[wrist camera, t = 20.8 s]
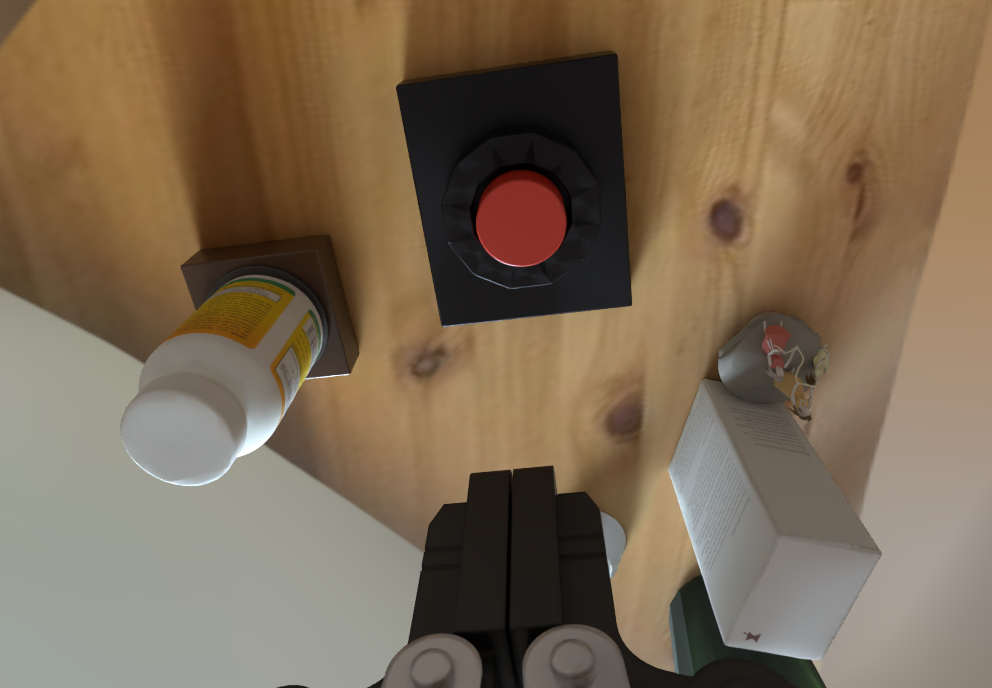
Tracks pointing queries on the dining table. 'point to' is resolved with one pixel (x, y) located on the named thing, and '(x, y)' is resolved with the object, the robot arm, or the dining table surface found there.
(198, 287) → the stand
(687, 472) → the cosmetic box
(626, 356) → the dining table surface
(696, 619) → the potion bottle
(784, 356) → the figurine
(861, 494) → the dining table surface
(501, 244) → the button
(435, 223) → the button housing
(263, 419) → the supplement bottle
